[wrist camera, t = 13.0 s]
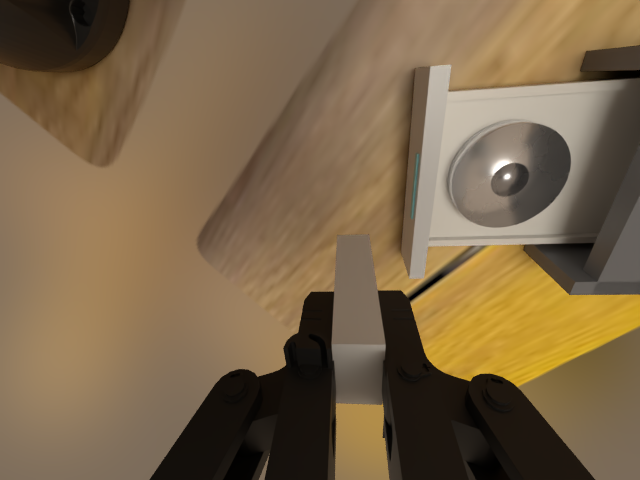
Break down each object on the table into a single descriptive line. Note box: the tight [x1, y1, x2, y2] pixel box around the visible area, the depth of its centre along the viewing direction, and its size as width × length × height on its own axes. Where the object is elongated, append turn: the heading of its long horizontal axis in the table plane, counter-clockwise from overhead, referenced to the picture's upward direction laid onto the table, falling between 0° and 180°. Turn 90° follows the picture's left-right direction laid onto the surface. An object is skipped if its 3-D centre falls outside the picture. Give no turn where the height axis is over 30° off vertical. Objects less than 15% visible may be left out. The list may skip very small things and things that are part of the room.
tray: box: [401, 65, 640, 279], centre depth 22 cm, size 16×18×4 cm
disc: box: [447, 120, 571, 228], centre depth 22 cm, size 8×8×2 cm
